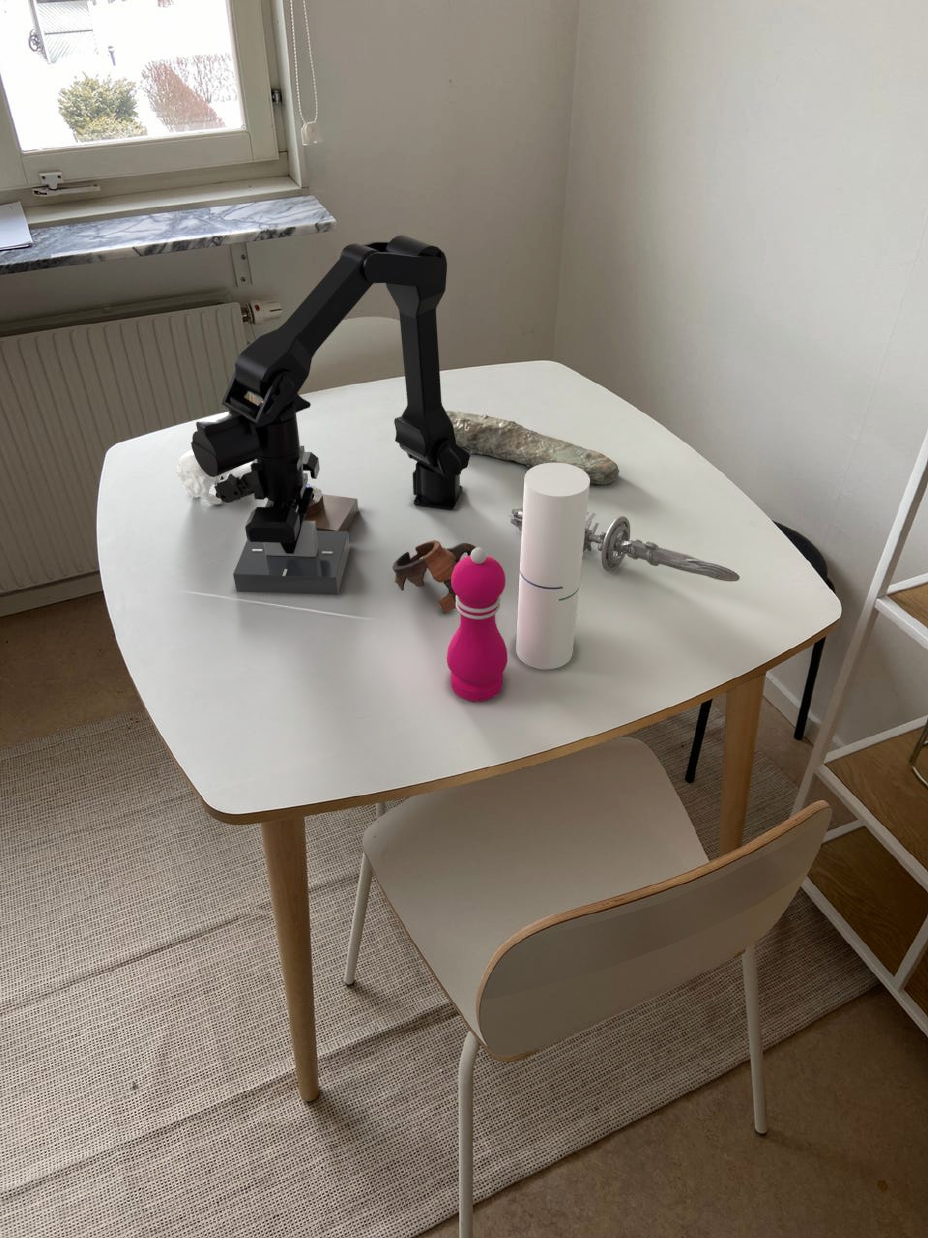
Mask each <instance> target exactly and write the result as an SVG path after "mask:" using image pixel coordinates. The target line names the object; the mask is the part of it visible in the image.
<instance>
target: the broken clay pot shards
mask: <svg viewBox="0 0 928 1238" xmlns="http://www.w3.org/2000/svg"><path fill="white" fill-rule="evenodd" d="M475 548H477V547H476V546H475V545H474V544H472V543H468V542H462V543H459V544H456V545H455V546H453V547H448V548H446V547H443V546H442V543H441V542H440V540H434V539H433V540H430V541H426V542H423V543H421V544H418V545H417V546H415V547H414V549H415V552H416V554H414V555H413V556H412V557H411V555H410V552H409V551H406V552H405V553H403V554H402V555H401V556H399V557H398V558H397V559H396V560H395V561H394V562H393V564H392V567H391V568H392V570H393V572H394V573H395V576H394V582H395V583H396V584H397V585H398V588H399V589H400V590H401V591H402V592H403V591H404V590H405V584H406V581H408V582H409V583H412V584H413V585H414V586H415V587H424V586H425V583H424V582H425V581H424V578H425V574H426V571H427V569H428V571H429V573H430V574H431V577H432V579H433V580H434V581H435V582H436V583H443V584H444V586H445V587H446V588H447V590H448V593H446V594H445V595H444V596H443V597H440V598H439V599H438V600H437V604H438V605H439V607H440V609H441V611H442V613H443V614H448V613H449V612H451V611H453V610H455V609H457V608H456V594H455V593H454V591H453V588H452V584H451V577H452V572H453V570H454V568H455V566H456V564H457V563H458V562H459V561H460V560H462V556H464V554H465V553H466V554H467V556H470V555H471V552H472V550H474V549H475Z"/></svg>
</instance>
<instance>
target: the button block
mask: <svg viewBox="0 0 928 1238" xmlns="http://www.w3.org/2000/svg"><path fill="white" fill-rule="evenodd" d="M310 485H311V484H310ZM311 487H312V488H313V489H314V491H313V494H312V496H313V498H312V500H311V501H310V504H309V507H308V510H307V513H306V516H305V519H304V521H315V522H316V530H317V531H344V532H348V529H349V527H350V526H351V524H352V523H353V521H354V519H355V517H356V515H358V512H359V503H358V502H359V501H358V498H356V497H347V496H341V495H340V496H339V495H332V494H325V493H322V490H321V489H320V488H318V487H316V486H314V485H313V484H312V485H311Z"/></svg>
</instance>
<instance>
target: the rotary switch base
mask: <svg viewBox="0 0 928 1238" xmlns="http://www.w3.org/2000/svg"><path fill="white" fill-rule="evenodd" d="M349 534H350V533H349V531H346V532H344V531H317V539H318V547H319V548H318V551H317V555H316V557H302V556H272V555H266V554H265V548H264V542H250V541H249V540H246V542H245V544H244V547H243V548H242V551H241V554H240V556H239V558H238V561H237V563H236V565H235V568H234V571H233V573H232V576H233V581H234V587H235V591H236V592H241V593H242V592H243V593H246V592H249V593H271V594H273V593H275V594H299V595H300V594H301V595H307V594H308V595H333V596H338V595H339V592H340V589H341V584H342V580H343V576H344V572H345V570H346V565H347V561H348V557H349V553H350V549H351V547H350V546H351V545H350V536H349Z"/></svg>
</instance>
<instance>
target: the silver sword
mask: <svg viewBox="0 0 928 1238" xmlns="http://www.w3.org/2000/svg"><path fill="white" fill-rule="evenodd" d="M511 514H512V515H509V517H510V518H511V519H510V523H511V524H512V525H513V526H515V527H516V528H517V529H518V530H519V531H520V532H522V519H523V506H522V507H521V508H520V507H519V508H513V509H511ZM589 514H590V511H588V510H587V515H586V517H587V516H588V515H589ZM596 515H597V513H596V512H592V513H591V514H590V516H589V517H587V518H586V525H585V535H584V545H583V553H584V552H585V551H586V550H587V551H588V552H592V550H593V549H592V542H593V543H595V544H597V550H598V551H600V552H601V565H602V568H603V569H604V570H605V571H606V572H608V573H611V572H614V571H616V570H617V569H618V568H619V566H620V565H621V564H622V562H623V560H624V558H625V557H626V555H627V557H628V558H631V559H633V560H635V561H636V560H638V559H640V560H644V561H646V562H647V563H648V564H649V565H650V566H654V567H658V566H659V565H661V566H666V567H669V568H671V569H675V570H679V571H683V572H686V573H691V574H695V575H700V576H703V577H704V576H705V577H708V578H710V579H713V580H716V581H717V580H718V581H722V582H738V581H740V579H741V577H740V575H739V574H738V573H737V572H735V570H732V569H731V568H728V567H726V566H723V565H720V564H717V563H712V562H709V561H705V560H701V559H699V558H697V557H694V556H692V555H689V554H687V553H686V554H685V553H682V552H678V551H675V550H671V549H667V548H663V547H659V545H658V544H657V543H654V542H652V541H645V543H644V542H643V541H642V540H640V539H635V540H631V523H630V521H629V518H627V517H626V516H623V515H621V516H618V517H617V518H615V519H614V520H613V521H612V523H611V524H610V526H609V528H608V529H607V531H606V532H605V531H601V532H600V533H599V534H596V532H597V529H598V527H599V525H600V522H595V523H594V525H592V522H593V520H594V518H595V517H596ZM591 526H592V528H591V529H590V527H591Z"/></svg>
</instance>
